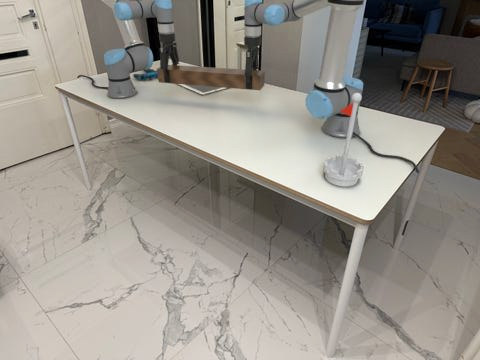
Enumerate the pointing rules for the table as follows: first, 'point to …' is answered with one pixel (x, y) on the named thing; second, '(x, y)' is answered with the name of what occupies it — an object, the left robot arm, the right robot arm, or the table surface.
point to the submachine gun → (146, 74)
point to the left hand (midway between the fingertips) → (171, 79)
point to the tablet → (202, 89)
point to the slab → (212, 77)
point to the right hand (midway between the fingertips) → (251, 85)
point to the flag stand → (345, 155)
